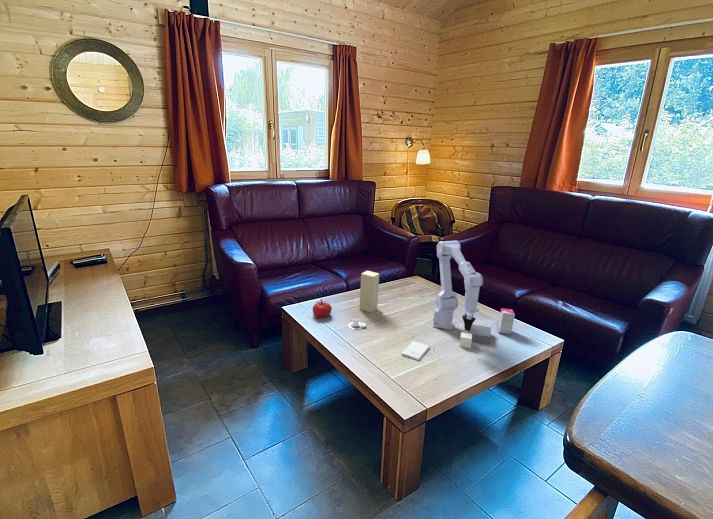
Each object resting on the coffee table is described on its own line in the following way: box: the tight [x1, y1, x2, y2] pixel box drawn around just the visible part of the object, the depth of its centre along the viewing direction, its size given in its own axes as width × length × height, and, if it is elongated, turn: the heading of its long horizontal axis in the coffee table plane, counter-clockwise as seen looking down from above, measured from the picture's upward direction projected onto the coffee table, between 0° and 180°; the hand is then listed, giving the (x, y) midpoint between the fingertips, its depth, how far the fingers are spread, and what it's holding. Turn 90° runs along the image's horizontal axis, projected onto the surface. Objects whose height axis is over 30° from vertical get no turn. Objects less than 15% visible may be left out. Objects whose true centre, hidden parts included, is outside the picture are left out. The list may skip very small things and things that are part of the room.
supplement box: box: [497, 308, 516, 336], centre depth 189 cm, size 6×6×12 cm
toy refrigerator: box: [359, 270, 380, 313], centre depth 209 cm, size 8×7×21 cm
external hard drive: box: [400, 340, 430, 361], centre depth 171 cm, size 2×8×12 cm
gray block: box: [468, 323, 492, 345], centre depth 185 cm, size 10×10×4 cm
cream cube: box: [458, 331, 473, 349], centre depth 177 cm, size 5×5×5 cm
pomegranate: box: [312, 298, 333, 319], centre depth 201 cm, size 10×10×9 cm
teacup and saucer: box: [347, 317, 367, 331], centre depth 192 cm, size 9×8×4 cm
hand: (467, 326), depth 175 cm, fingers open, 7 cm apart
